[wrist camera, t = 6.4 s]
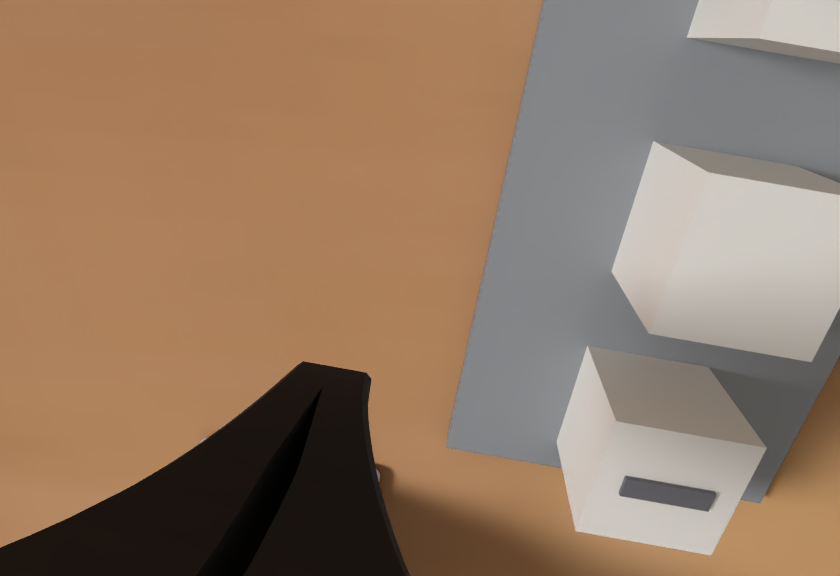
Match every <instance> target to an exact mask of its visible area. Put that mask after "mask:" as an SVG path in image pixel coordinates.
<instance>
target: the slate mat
mask: <svg viewBox="0 0 840 576" xmlns="http://www.w3.org/2000/svg"><path fill="white" fill-rule="evenodd" d="M698 1H699V0H544V1H543V5H542V10H541V14H540V19H539V24H538V28H537V33H536V37H535V42H534V46H533V51H532V55H531V60H530V64H529V69H528V73H527V78H526V82H525V87H524V92H523V96H522V101H521V105H520V110H519V114H518V119H517V123H516V128H515V132H514V137H513V141H512V146H511V150H510V155H509V160H508V164H507V169H506V173H505V178H504V182H503V187H502V191H501V196H500V200H499V205H498V209H497V214H496V218H495V223H494V228H493V232H492V237H491V241H490V246H489V250H488V255H487V259H486V264H485V268H484V273H483V277H482V282H481V286H480V291H479V296H478V300H477V305H476V309H475V314H474V318H473V323H472V327H471V332H470V336H469V341H468V345H467V350H466V354H465V359H464V364H463V368H462V373H461V377H460V382H459V386H458V391H457V395H456V400H455V404H454V409H453V413H452V418H451V422H450V427H449V432H448V436H447V448H452V449H457V450H463V451H468V452H474V453H480V454H485V455H491V456H497V457H502V458H508V459H513V460H519V461H525V462H530V463H536V464H541V465H547V466H553V467H558V468H562V465H561V461H560V456H559V451H558V447H557V438H558V435H559V432H560V429H561V426H562V423H563V420H564V417H565V414H566V411H567V407H568V404H569V401H570V398H571V395H572V392H573V389H574V386H575V383H576V380H577V376H578V373H579V370H580V367H581V364H582V361H583V358H584V355H585V352H586V349H587V346H592V347H598V348H603V349H609V350H615V351H620V352H626V353H632V354H637V355H643V356H649V357H654V358H660V359H666V360H671V361H677V362H683V363H688V364H694V365H700V366H705V367H709V369H710V370H711V371H712V373H713V374H714V376H715V377H716V378H717V380H718V381H719V382H720V384H721V385H722V387H723V388H724V389H725V391H726V392H727V394H728V395H729V396H730V398H731V399H732V400H733V402H734V403H735V405H736V406H737V407H738V409H739V410H740V412H741V413H742V414H743V416H744V417H745V418H746V420H747V421H748V423H749V424H750V425H751V427H752V428H753V430H754V431H755V432H756V434H757V435H758V436H759V438H760V439H761V441H762V442H763V443H764V445H765V446H766V448H767V449H766V451H765V453H764V455H763V456H762V458H761V460H760V462H759V464H758V466H757V468H756V470H755V472H754V474H753V476H752V478H751V480H750V481H749V483H748V485H747V487H746V489H745V491H744V493H743V495H742V497H741V499H740V500H744V501H749V502H755V503H761V501H762V499H763V497H764V495H765V493H766V492H767V490H768V488H769V486H770V484H771V482H772V480H773V479H774V477H775V475H776V473H777V471H778V469H779V467H780V466H781V464H782V462H783V460H784V458H785V456H786V455H787V453H788V451H789V449H790V447H791V445H792V443H793V442H794V440H795V438H796V436H797V434H798V432H799V431H800V429H801V427H802V425H803V423H804V421H805V419H806V418H807V416H808V414H809V412H810V410H811V408H812V407H813V405H814V403H815V401H816V399H817V397H818V395H819V394H820V392H821V390H822V388H823V386H824V384H825V383H826V381H827V379H828V377H829V375H830V373H831V371H832V370H833V368H834V366H835V364H836V362H837V360H838V359H839V357H840V308H839V310H838V312H837V314H836V316H835V318H834V320H833V322H832V324H831V326H830V328H829V329H828V331H827V333H826V335H825V337H824V339H823V341H822V343H821V345H820V347H819V349H818V351H817V353H816V354H815V356H814V358H813V360H812V362H807V361H801V360H796V359H790V358H784V357H779V356H773V355H767V354H762V353H756V352H750V351H745V350H739V349H733V348H727V347H722V346H716V345H710V344H705V343H699V342H693V341H688V340H682V339H676V338H671V337H665V336H659V335H654V334H649V333H648V332H647V330H646V328H645V327H644V325H643V323H642V322H641V320H640V318H639V317H638V315H637V313H636V312H635V310H634V308H633V307H632V305H631V303H630V302H629V300H628V298H627V297H626V295H625V293H624V292H623V290H622V288H621V287H620V285H619V283H618V282H617V280H616V278H615V277H614V275H613V273H612V272H611V271H612V268H613V265H614V262H615V259H616V255H617V252H618V249H619V246H620V243H621V240H622V237H623V234H624V231H625V228H626V224H627V221H628V218H629V215H630V212H631V209H632V206H633V203H634V200H635V197H636V193H637V190H638V187H639V184H640V181H641V178H642V175H643V172H644V169H645V166H646V162H647V159H648V156H649V153H650V150H651V147H652V144H653V141H656V142H662V143H668V144H674V145H680V146H685V147H691V148H697V149H703V150H708V151H714V152H720V153H726V154H732V155H737V156H743V157H749V158H755V159H761V160H766V161H772V162H778V163H784V164H789V165H795V166H798V167H800V168H803V169H805V170H808V171H810V172H813V173H816V174H818V175H821V176H823V177H826V178H828V179H831V180H833V181H836V182H838V183H840V64H837V63H832V62H826V61H820V60H814V59H808V58H802V57H797V56H791V55H785V54H779V53H773V52H767V51H762V50H756V49H750V48H744V47H738V46H732V45H727V44H721V43H715V42H709V41H703V40H697V39H692V38H687V35H688V32H689V29H690V26H691V23H692V20H693V17H694V14H695V10H696V7H697V4H698Z"/></svg>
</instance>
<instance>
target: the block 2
mask: <svg viewBox="0 0 840 576" xmlns="http://www.w3.org/2000/svg"><path fill="white" fill-rule="evenodd" d="M687 38H692V39H697V40H703V41H709V42H715V43H721V44H727V45H732V46H738V47H744V48H750V49H756V50H762V51H767V52H773V53H779V54H785V55H791V56H797V57H802V58H808V59H814V60H820V61H826V62H832V63H837V64H840V0H699V1H698V4H697V7H696V10H695V14H694V17H693V20H692V23H691V26H690V29H689V32H688V35H687Z"/></svg>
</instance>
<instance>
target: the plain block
mask: <svg viewBox="0 0 840 576" xmlns="http://www.w3.org/2000/svg"><path fill="white" fill-rule="evenodd" d="M611 272H612V273H613V275H614V277H615V278H616V280H617V282H618V283H619V285H620V287H621V288H622V290H623V292H624V293H625V295H626V297H627V298H628V300H629V302H630V303H631V305H632V307H633V308H634V310H635V312H636V313H637V315H638V317H639V318H640V320H641V322H642V323H643V325H644V327H645V328H646V330H647V332H648V333H649V334H654V335H659V336H665V337H671V338H676V339H682V340H688V341H693V342H699V343H705V344H710V345H716V346H722V347H727V348H733V349H739V350H745V351H750V352H756V353H762V354H767V355H773V356H779V357H784V358H790V359H796V360H801V361H807V362H812V360H813V358H814V356H815V354H816V353H817V351H818V349H819V347H820V345H821V343H822V341H823V339H824V337H825V335H826V333H827V331H828V329H829V328H830V326H831V324H832V322H833V320H834V318H835V316H836V314H837V312H838V310H839V308H840V183H838V182H836V181H833V180H831V179H828V178H826V177H823V176H821V175H818V174H816V173H813V172H810V171H808V170H805V169H803V168H800V167H798V166H795V165H789V164H784V163H778V162H772V161H766V160H761V159H755V158H749V157H743V156H737V155H732V154H726V153H720V152H714V151H708V150H703V149H697V148H691V147H685V146H680V145H674V144H668V143H662V142H656V141H653V144H652V147H651V150H650V153H649V156H648V159H647V162H646V166H645V169H644V172H643V175H642V178H641V181H640V184H639V187H638V190H637V193H636V197H635V200H634V203H633V206H632V209H631V212H630V215H629V218H628V221H627V224H626V228H625V231H624V234H623V237H622V240H621V243H620V246H619V249H618V252H617V255H616V259H615V262H614V265H613V268H612V271H611Z"/></svg>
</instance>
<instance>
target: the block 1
mask: <svg viewBox="0 0 840 576" xmlns="http://www.w3.org/2000/svg"><path fill="white" fill-rule="evenodd" d="M557 447H558V451H559V456H560V461H561V465H562V470H563V475H564V479H565V484H566V489H567V493H568V498H569V503H570V507H571V512H572V517H573V521H574V526H575V531H578V532H584V533H589V534H595V535H600V536H606V537H612V538H617V539H623V540H628V541H634V542H639V543H645V544H651V545H656V546H662V547H667V548H673V549H679V550H684V551H690V552H695V553H701V554H706V555H712V553H713V551H714V549H715V547H716V545H717V543H718V541H719V539H720V537H721V535H722V533H723V531H724V530H725V528H726V526H727V524H728V522H729V520H730V518H731V516H732V514H733V512H734V510H735V508H736V506H737V505H738V503H739V501H740V499H741V497H742V495H743V493H744V491H745V489H746V487H747V485H748V483H749V481H750V480H751V478H752V476H753V474H754V472H755V470H756V468H757V466H758V464H759V462H760V460H761V458H762V456H763V455H764V453H765V451H766V449H767V448H766V446H765V445H764V443H763V442H762V441H761V439H760V438H759V436H758V435H757V434H756V432H755V431H754V430H753V428H752V427H751V425H750V424H749V423H748V421H747V420H746V418H745V417H744V416H743V414H742V413H741V412H740V410H739V409H738V407H737V406H736V405H735V403H734V402H733V400H732V399H731V398H730V396H729V395H728V394H727V392H726V391H725V389H724V388H723V387H722V385H721V384H720V382H719V381H718V380H717V378H716V377H715V376H714V374H713V373H712V371H711V370H710V369H709V367H705V366H700V365H694V364H688V363H683V362H677V361H671V360H666V359H660V358H654V357H649V356H643V355H637V354H632V353H626V352H620V351H615V350H609V349H603V348H598V347H592V346H587V349H586V352H585V355H584V358H583V361H582V364H581V367H580V370H579V373H578V376H577V380H576V383H575V386H574V389H573V392H572V395H571V398H570V401H569V404H568V407H567V411H566V414H565V417H564V420H563V423H562V426H561V429H560V432H559V435H558V438H557Z"/></svg>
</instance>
